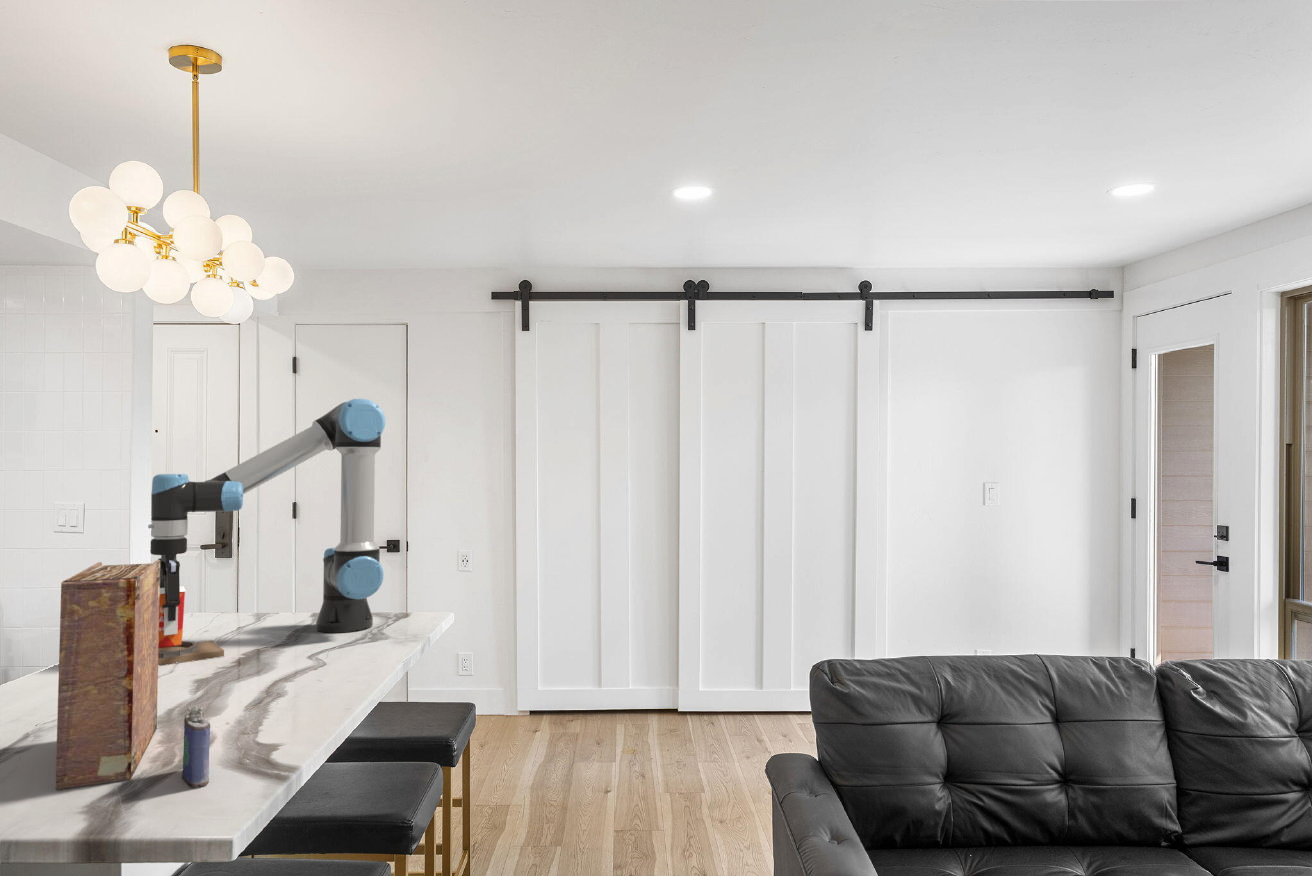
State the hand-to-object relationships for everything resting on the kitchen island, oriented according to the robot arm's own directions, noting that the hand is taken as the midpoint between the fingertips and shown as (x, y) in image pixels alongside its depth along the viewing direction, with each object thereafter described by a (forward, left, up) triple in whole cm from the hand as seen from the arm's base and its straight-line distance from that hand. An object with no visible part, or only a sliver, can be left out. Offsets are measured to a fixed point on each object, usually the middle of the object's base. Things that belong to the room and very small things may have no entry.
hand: (167, 630), depth 188 cm
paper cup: (0, +2, -4) cm, 4 cm away
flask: (+9, +86, -7) cm, 87 cm away
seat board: (0, 0, -6) cm, 6 cm away
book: (+18, +67, -7) cm, 70 cm away
